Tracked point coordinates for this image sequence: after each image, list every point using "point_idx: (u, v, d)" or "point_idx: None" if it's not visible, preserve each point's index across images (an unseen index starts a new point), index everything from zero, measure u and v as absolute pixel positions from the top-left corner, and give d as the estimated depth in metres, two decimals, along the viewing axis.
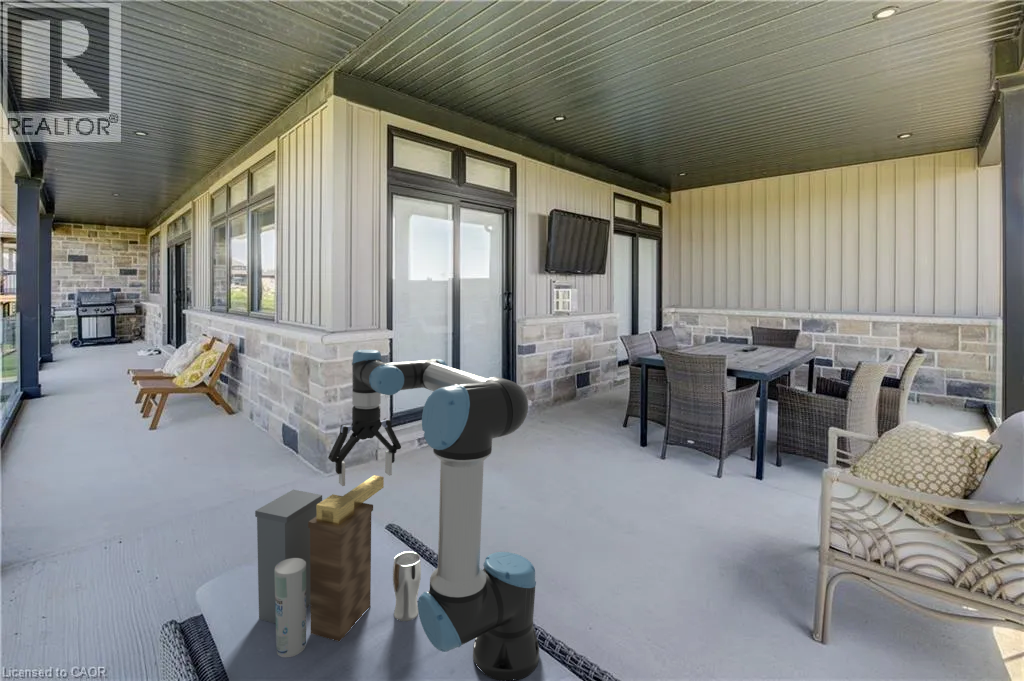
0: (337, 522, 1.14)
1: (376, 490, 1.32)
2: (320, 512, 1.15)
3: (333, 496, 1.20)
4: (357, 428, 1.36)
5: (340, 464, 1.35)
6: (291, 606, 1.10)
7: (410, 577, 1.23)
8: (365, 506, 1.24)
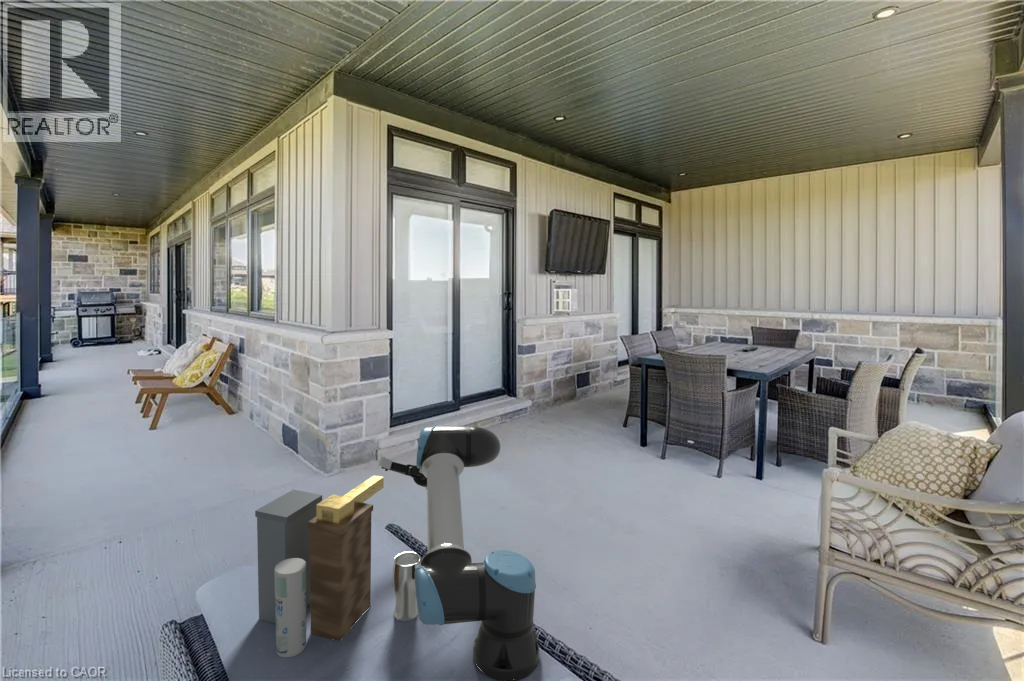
0: (337, 522, 1.14)
1: (376, 490, 1.32)
2: (320, 512, 1.15)
3: (333, 496, 1.20)
4: None
5: None
6: (291, 606, 1.10)
7: (410, 577, 1.23)
8: (365, 506, 1.24)
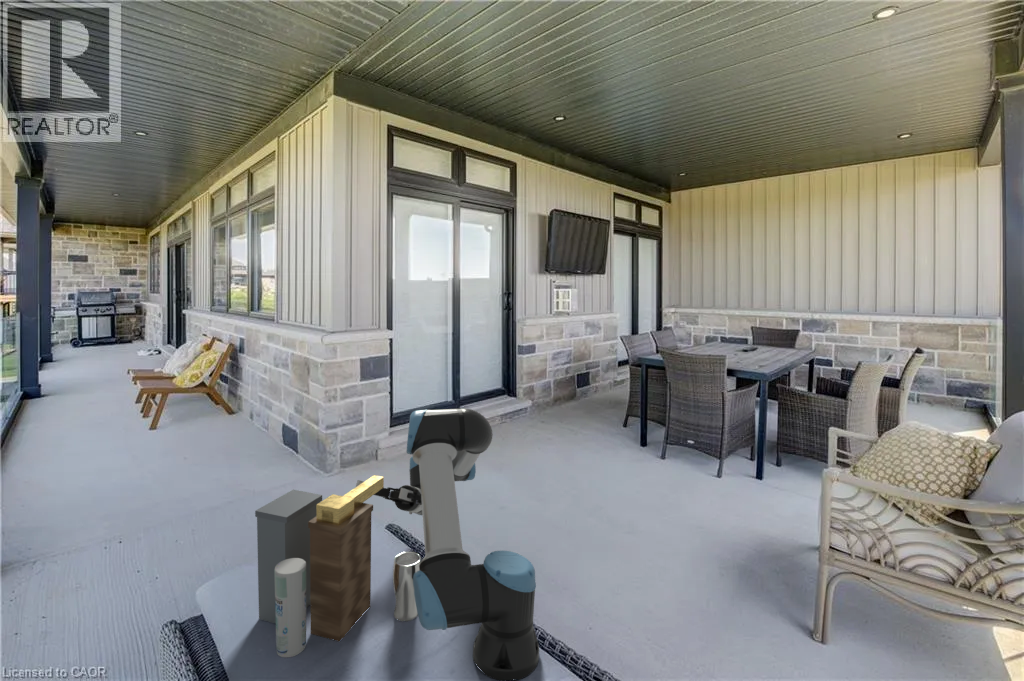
0: (337, 522, 1.14)
1: (376, 490, 1.32)
2: (320, 512, 1.15)
3: (333, 496, 1.20)
4: None
5: None
6: (291, 606, 1.10)
7: (410, 577, 1.23)
8: (365, 506, 1.24)
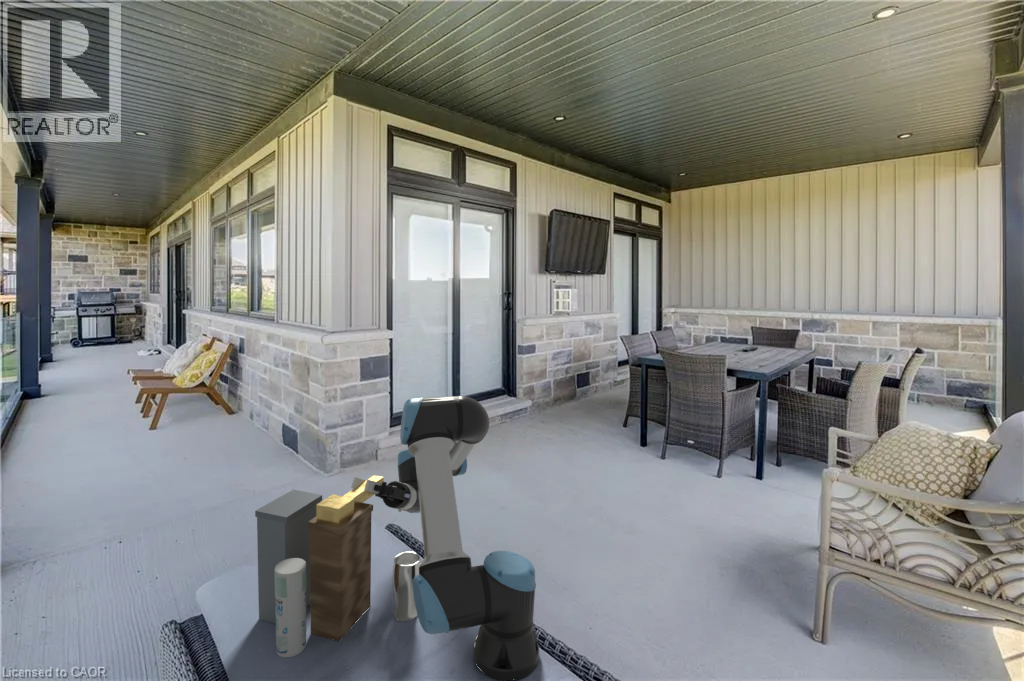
0: (337, 522, 1.14)
1: None
2: (320, 512, 1.15)
3: (333, 496, 1.20)
4: None
5: None
6: (291, 606, 1.10)
7: (410, 577, 1.23)
8: (365, 506, 1.24)
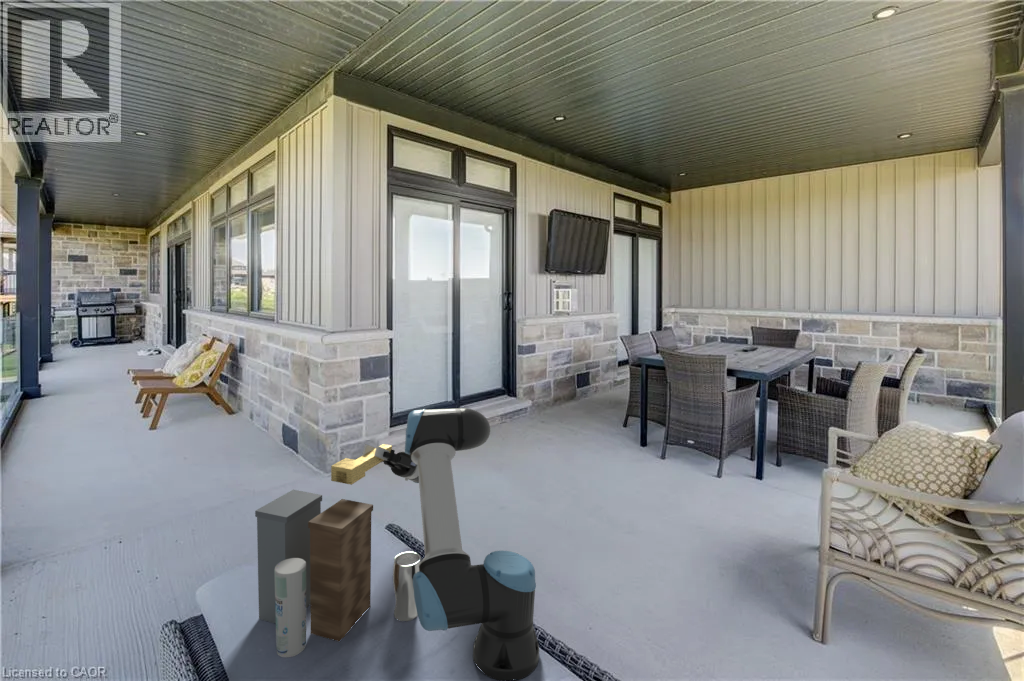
0: (350, 481, 1.25)
1: None
2: (334, 472, 1.27)
3: (346, 459, 1.31)
4: None
5: None
6: (291, 606, 1.10)
7: (410, 577, 1.23)
8: (365, 506, 1.24)
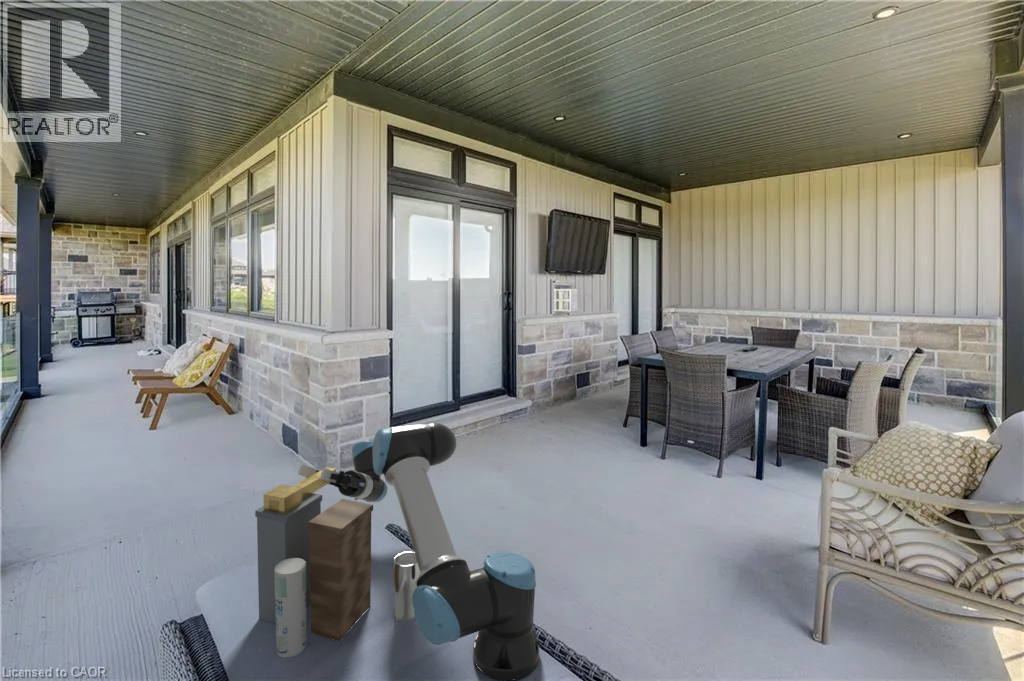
0: (283, 511, 1.18)
1: (328, 481, 1.36)
2: (267, 501, 1.20)
3: (281, 486, 1.24)
4: None
5: None
6: (291, 606, 1.10)
7: (410, 577, 1.23)
8: (365, 506, 1.24)
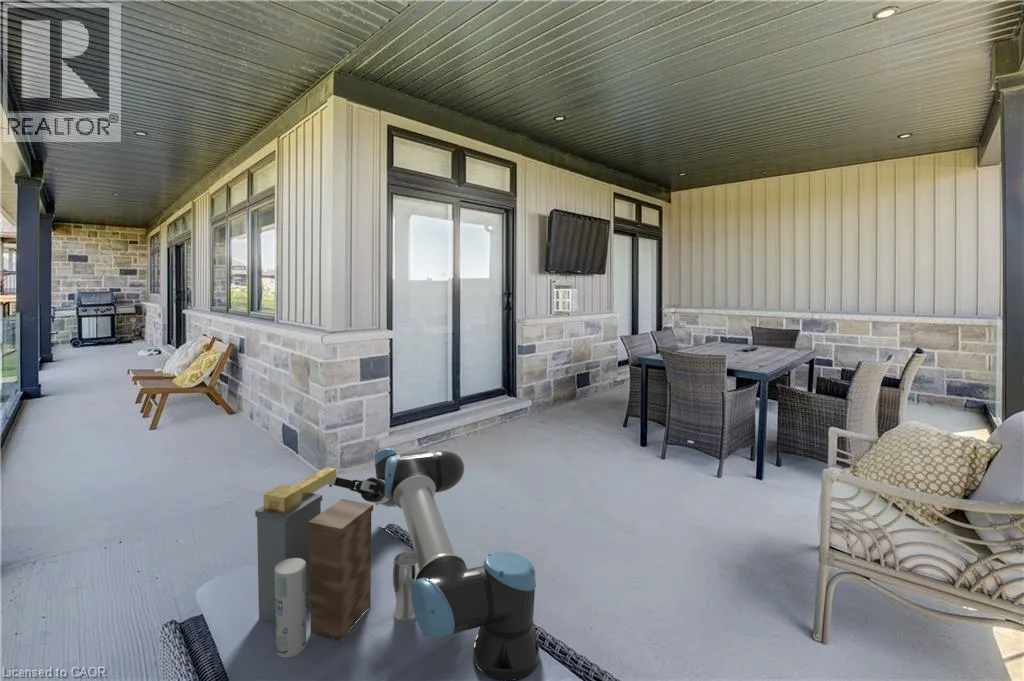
0: (283, 511, 1.18)
1: (328, 481, 1.36)
2: (267, 501, 1.20)
3: (281, 486, 1.24)
4: None
5: None
6: (291, 606, 1.10)
7: (410, 577, 1.23)
8: (365, 506, 1.24)
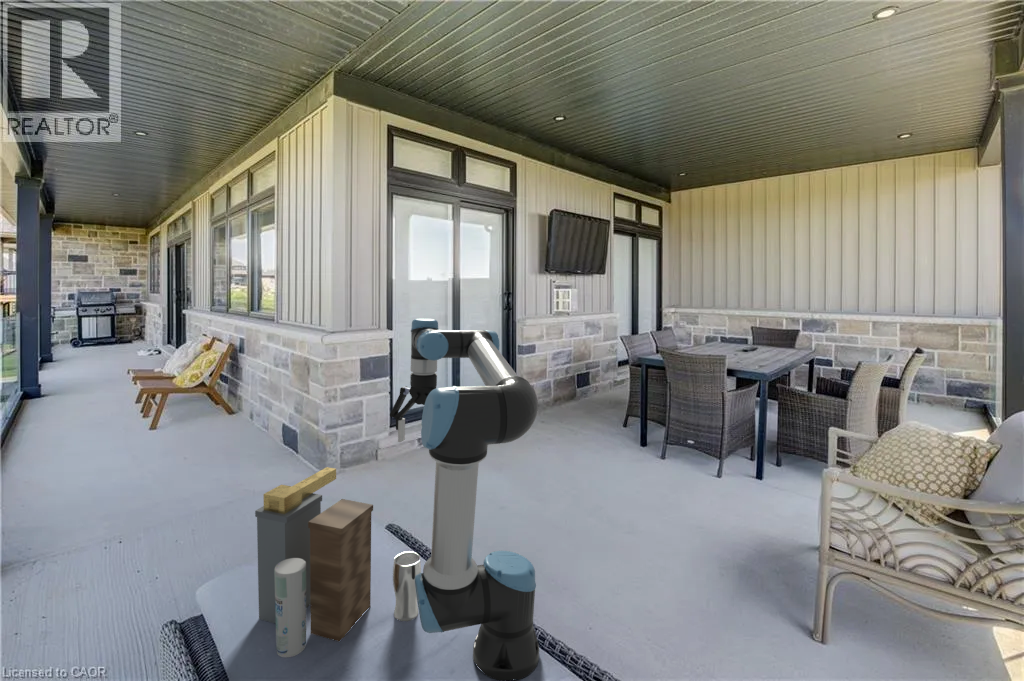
0: (283, 511, 1.18)
1: (328, 481, 1.36)
2: (267, 501, 1.20)
3: (281, 486, 1.24)
4: (412, 392, 1.44)
5: None
6: (291, 606, 1.10)
7: (410, 577, 1.23)
8: (365, 506, 1.24)
